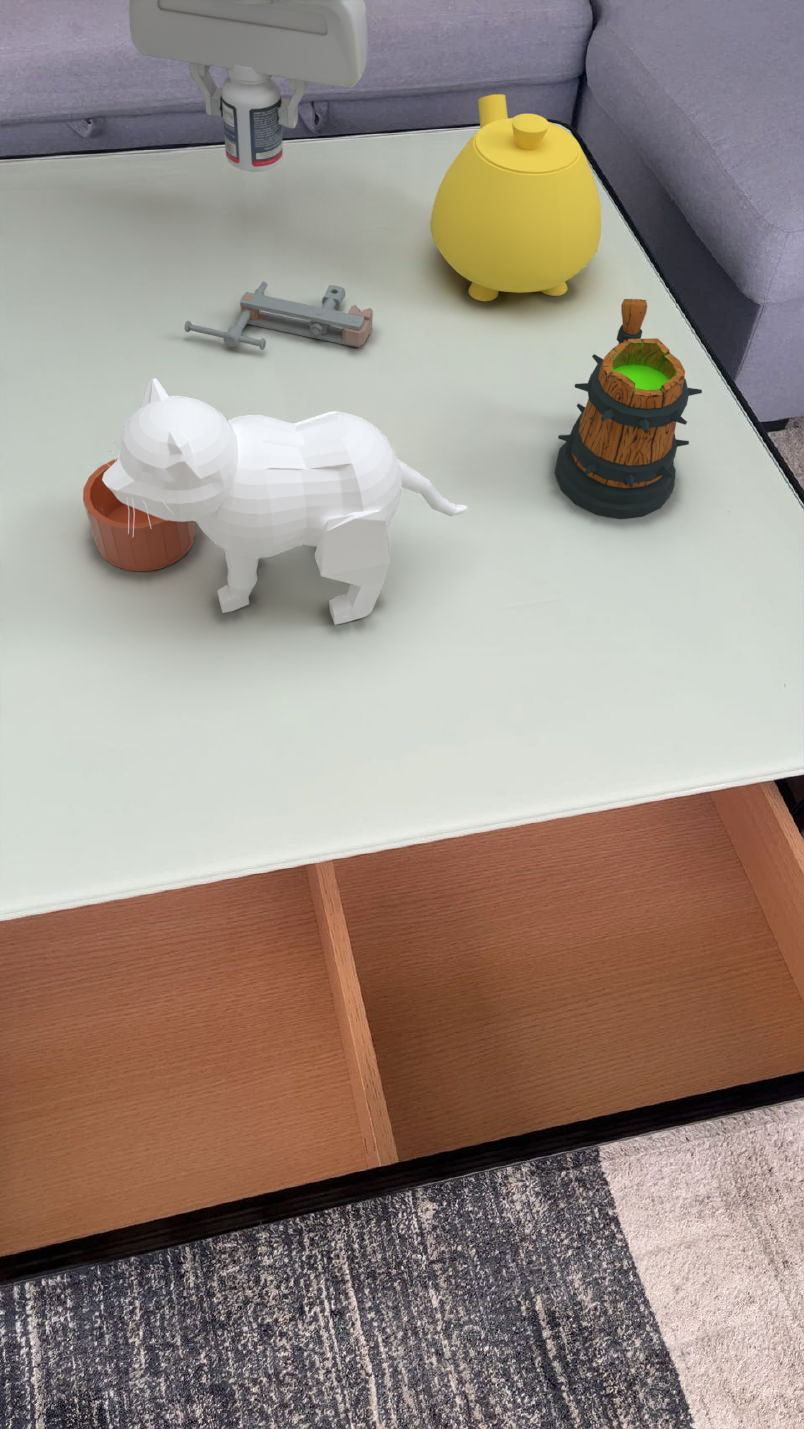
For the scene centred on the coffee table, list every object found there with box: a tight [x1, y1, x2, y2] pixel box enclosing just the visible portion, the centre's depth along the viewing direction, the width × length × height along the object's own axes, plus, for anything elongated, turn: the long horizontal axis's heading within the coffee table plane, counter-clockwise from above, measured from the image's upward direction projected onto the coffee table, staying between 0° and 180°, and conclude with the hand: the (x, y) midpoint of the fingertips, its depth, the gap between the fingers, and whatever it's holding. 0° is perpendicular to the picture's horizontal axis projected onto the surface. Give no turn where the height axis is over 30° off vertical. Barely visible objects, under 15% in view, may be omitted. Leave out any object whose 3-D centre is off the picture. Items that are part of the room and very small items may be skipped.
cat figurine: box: [91, 377, 469, 625], centre depth 71 cm, size 25×10×17 cm, turn 107°
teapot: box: [430, 93, 602, 302], centre depth 97 cm, size 20×16×14 cm
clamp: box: [184, 281, 374, 351], centre depth 93 cm, size 15×2×10 cm
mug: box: [554, 298, 703, 520], centre depth 82 cm, size 13×10×12 cm
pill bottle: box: [221, 65, 284, 173], centre depth 95 cm, size 5×5×9 cm
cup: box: [82, 458, 196, 572], centre depth 78 cm, size 7×7×4 cm
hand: (252, 119), depth 96 cm, fingers closed on pill bottle, 5 cm apart
